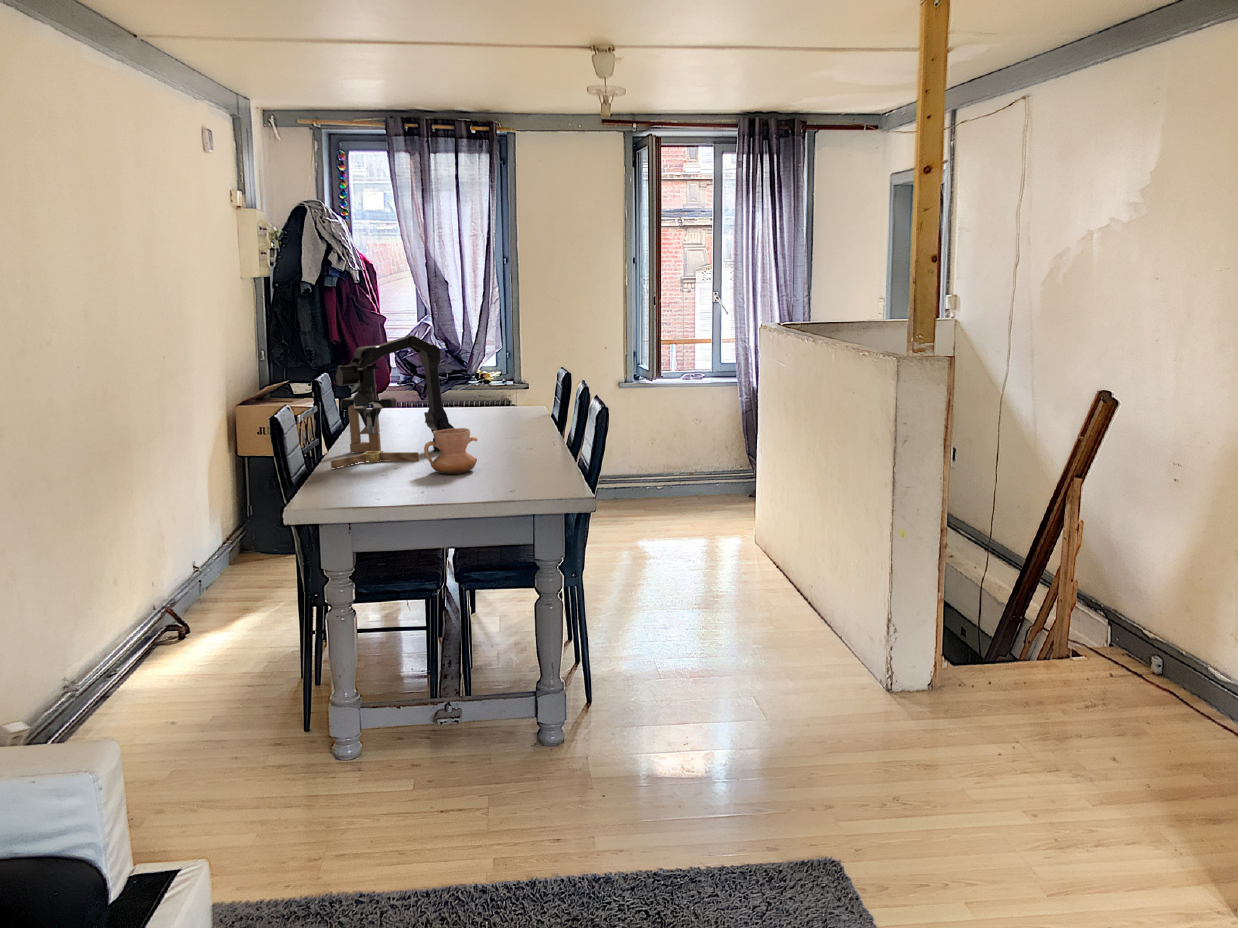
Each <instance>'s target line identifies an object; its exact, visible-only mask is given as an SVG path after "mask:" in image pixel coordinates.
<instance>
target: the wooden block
mask: <svg viewBox="0 0 1238 928" xmlns="http://www.w3.org/2000/svg"><path fill="white" fill-rule="evenodd" d="M353 408H354V405H351V406H350V407H349V408H347V409H348V418H349V419H348V422H349V433H350V443H349V450H350V453H351V452H366V451H382V446H381V433H380V431H381V430H380V419H379V416H378V419H377V422H376V425H375V427H374V434H367V427H365V426H364V428H363V429H362V430H361V426H360V425H361V424H360V414H359V413H358V412H357V411H356V410H354V409H353ZM361 435H368V442H367V441H361V440H362V439H361Z"/></svg>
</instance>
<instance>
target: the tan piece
mask: <svg viewBox="0 0 1238 928" xmlns="http://www.w3.org/2000/svg"><path fill="white" fill-rule="evenodd" d="M419 454H420V453H419V452H417V451H416V452H415V451H414V452H409V451H407V452H401V451H399V452H398V451H397V452H394V451H393V452H392V451H391V452H390V451H389V452H386V451H383V450H381V451H366V452H364V453H360V454H357V455H352V456H349V457H348V456H347V457H342V458H337V459H333V460H330V468H337V467H341V466H348V465H351V464H355V463H358V462H366V461H369V462H378V461H380V460H391V461H390V462H419V461H420V455H419ZM380 462H381V461H380ZM378 463H379V462H378ZM348 467H349V466H348Z"/></svg>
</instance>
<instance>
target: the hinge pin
mask: <svg viewBox="0 0 1238 928" xmlns="http://www.w3.org/2000/svg"><path fill="white" fill-rule="evenodd" d="M364 412H366V423H367V434H366V435H369V434H374V427H373V423H372V410H371V408H367V409H364Z"/></svg>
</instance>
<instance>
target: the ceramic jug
mask: <svg viewBox="0 0 1238 928" xmlns="http://www.w3.org/2000/svg"><path fill="white" fill-rule="evenodd" d="M432 435H433V438H434V439H435V442H434V441H433V440H432V441H431V440H430V441H428V442H426V443H425V445H424V447H423V448H424V449H423V453H424V455H425V458H426V459H427V460H428V461H429V464H430V467H431V468H432V469H433V470H434V471H435V472H438V473H440V474H444V475H445V474H446V475H459V473H460V474H464V472H465V473H467V472H469V471H471V470H473V469H474V468H475V466H476V463H477V462H478V458H477V457H474V456H473V455H472V454H470V453H468V452H467V451H466V450H467V447H468V444H470V443H471V442H478V440H479V438H478V437H477V436H471V430H470V428H467V427H454V428H451V429H446V430H445V429H444V430H438V431H433V433H432ZM431 446H432V447H433V446H435V447H437V448H438V449H439V450H440V451H439V452H440V453H439V455H438V456H437V457H435V458H434V459H432V457H431V455H430V453H429V448H430V447H431Z"/></svg>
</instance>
